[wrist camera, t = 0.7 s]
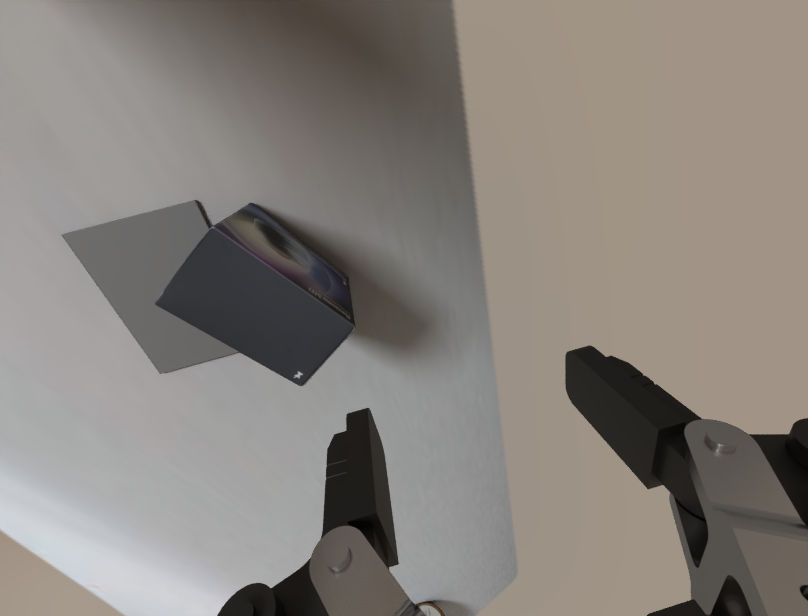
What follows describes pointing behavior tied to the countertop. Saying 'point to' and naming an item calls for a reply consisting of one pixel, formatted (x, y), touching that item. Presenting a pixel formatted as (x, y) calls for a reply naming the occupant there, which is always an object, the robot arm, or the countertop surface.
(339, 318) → the small box
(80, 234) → the mat
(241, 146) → the countertop surface
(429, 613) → the tin
